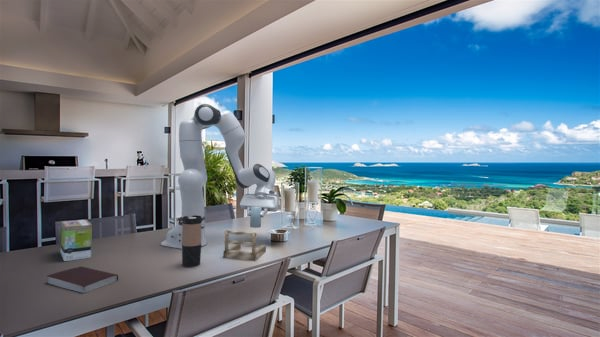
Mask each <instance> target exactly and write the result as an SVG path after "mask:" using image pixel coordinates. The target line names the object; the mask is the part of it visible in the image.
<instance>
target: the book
mask: <svg viewBox="0 0 600 337" xmlns="http://www.w3.org/2000/svg"><path fill="white" fill-rule="evenodd" d="M46 276H47V277H48V278H47V281H46V284H47V285H51V286H54V287H59V288H63V289H67V290H70V291H71V290H72V291H75V292H78V293H82V294H86V293H89V292H91V291H94V290H96V289H98V288H102V287H103V286H107V285H109V284H111V283H114V282H117V281H119V275H118V274H116V273H112V272H107V271H104V270H103V271H102V270H98V269H93V268H91V267H85V266H77V267H73V268H68V269H65V270H61V271H58V272H54V273H51V274H49V275H46Z"/></svg>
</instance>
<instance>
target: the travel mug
mask: <svg viewBox="0 0 600 337" xmlns="http://www.w3.org/2000/svg"><path fill="white" fill-rule="evenodd" d="M201 255H202V246H201V216H197V215H193V216H192V217H187V216H184V217H183V224H182V249H181V265H182V267H185V268H194V267H198V266H200V265H201V257H202V256H201Z"/></svg>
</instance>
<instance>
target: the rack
mask: <svg viewBox="0 0 600 337" xmlns="http://www.w3.org/2000/svg"><path fill="white" fill-rule="evenodd" d="M229 235H236V236H237V235H239V236H249V237H250V236H251V239H252V240H251V241H250V242H249V241H240V240H231V239H230V238H229V237H230V236H229ZM229 239H230V240H229ZM229 244H230V245H231V246H229ZM242 246H248V247H249V246H251V251H243V250H242V248H241V247H242ZM256 247H257V232H252V231H251V232H250V231H241V230H240V231H237V230H226V229H225V230H224V250H223V253H222V254H223V258H225V259H233V258H234V260H242V261H243V260H245V261H256V260H258V259H259V258H260V257H261V256H262V255H263V254H264V253H266V250H267V249H266V248H267V245H266V244H265V245H264V244H261V245H260V246H259V247H257V248H256ZM241 250H242V251H241Z"/></svg>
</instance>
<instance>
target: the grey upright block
mask: <svg viewBox="0 0 600 337" xmlns="http://www.w3.org/2000/svg"><path fill="white" fill-rule="evenodd" d="M250 212H251V213H250V216H249V217H250V218H249V227H250V228H253V229H256V228H261V226H262V217H261V216H260V215H261V213H262V212H263V211H262V207H256V206H251V211H250Z"/></svg>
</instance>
